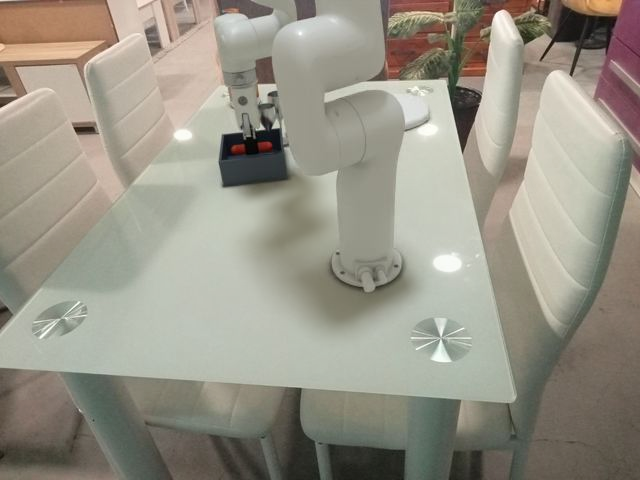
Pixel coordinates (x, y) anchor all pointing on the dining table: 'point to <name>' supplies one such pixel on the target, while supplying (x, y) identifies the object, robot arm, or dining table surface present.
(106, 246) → the dining table surface
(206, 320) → the dining table surface
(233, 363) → the dining table surface
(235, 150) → the red rounded rod
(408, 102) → the decorative plate
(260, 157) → the bin
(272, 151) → the goblet set
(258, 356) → the dining table surface
